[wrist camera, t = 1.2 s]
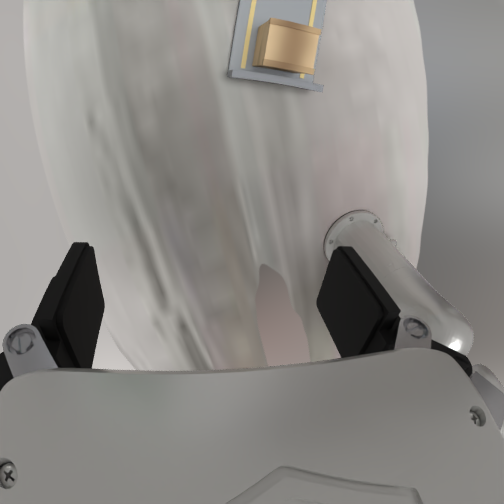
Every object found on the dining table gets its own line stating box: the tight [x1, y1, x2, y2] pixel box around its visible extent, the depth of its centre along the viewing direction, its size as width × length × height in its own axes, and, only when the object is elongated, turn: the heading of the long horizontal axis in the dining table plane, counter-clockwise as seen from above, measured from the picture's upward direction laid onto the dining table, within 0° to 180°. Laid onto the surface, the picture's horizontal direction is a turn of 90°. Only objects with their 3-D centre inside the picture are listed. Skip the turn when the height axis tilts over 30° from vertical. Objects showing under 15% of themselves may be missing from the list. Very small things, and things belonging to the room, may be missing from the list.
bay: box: [227, 0, 327, 92], centre depth 30 cm, size 15×20×5 cm
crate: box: [252, 18, 322, 75], centre depth 31 cm, size 6×6×7 cm
